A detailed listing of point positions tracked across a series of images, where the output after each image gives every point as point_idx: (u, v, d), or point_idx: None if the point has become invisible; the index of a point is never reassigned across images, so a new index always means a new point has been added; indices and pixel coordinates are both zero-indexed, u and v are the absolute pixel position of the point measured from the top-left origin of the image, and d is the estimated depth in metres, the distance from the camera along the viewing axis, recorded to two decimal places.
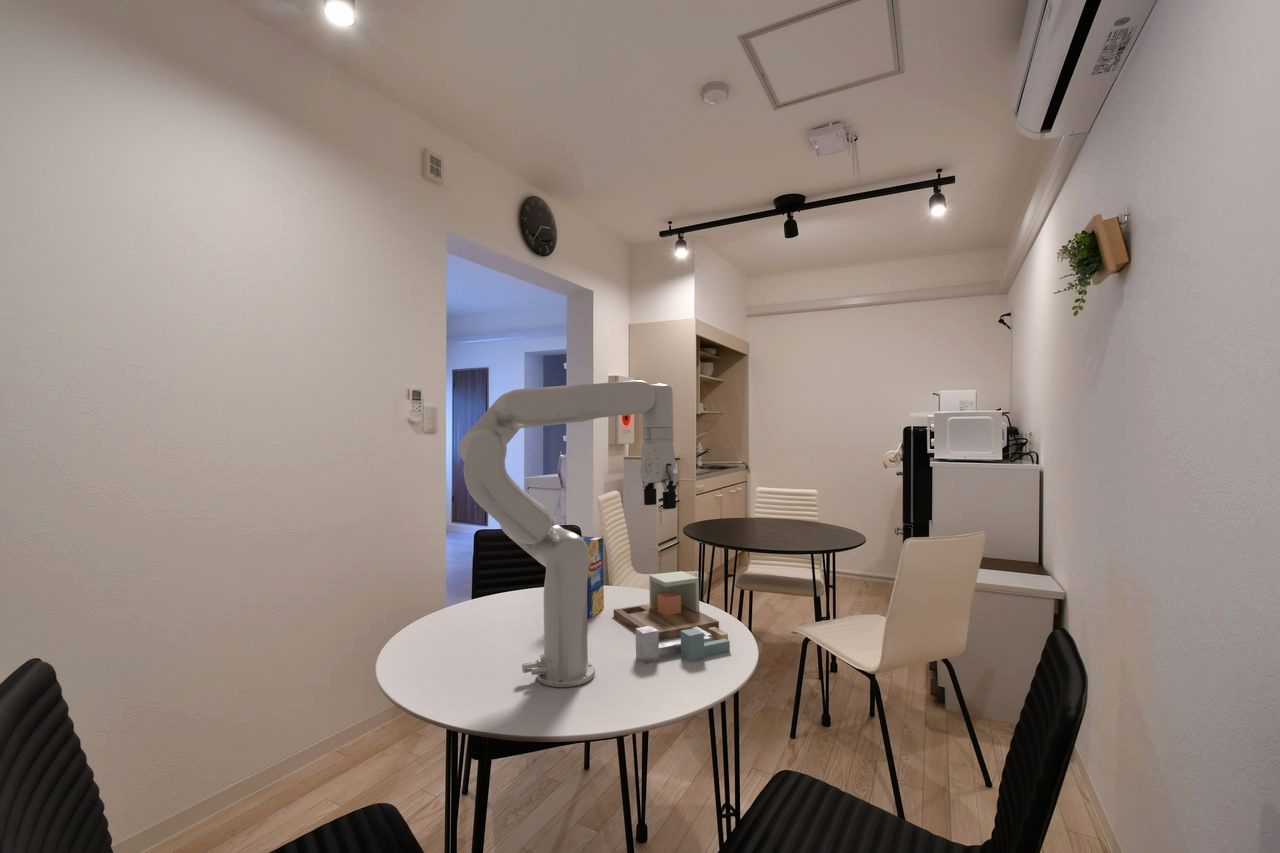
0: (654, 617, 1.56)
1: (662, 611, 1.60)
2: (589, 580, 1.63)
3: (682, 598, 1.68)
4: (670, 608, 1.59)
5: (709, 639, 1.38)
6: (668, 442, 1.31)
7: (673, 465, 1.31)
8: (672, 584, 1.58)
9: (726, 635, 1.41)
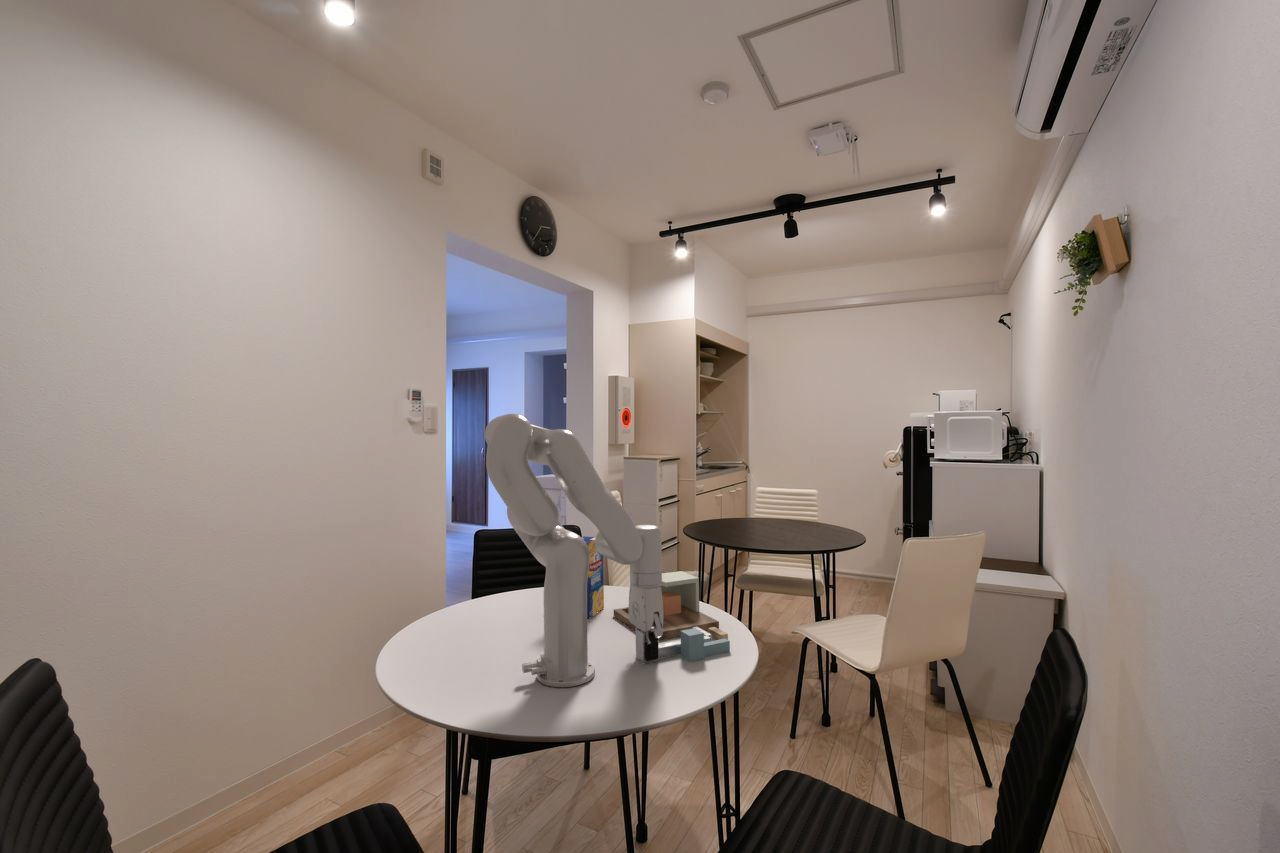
0: None
1: None
2: (589, 580, 1.63)
3: (682, 598, 1.68)
4: (670, 608, 1.59)
5: (709, 639, 1.38)
6: (656, 589, 1.28)
7: (661, 613, 1.28)
8: (672, 584, 1.58)
9: (726, 635, 1.41)
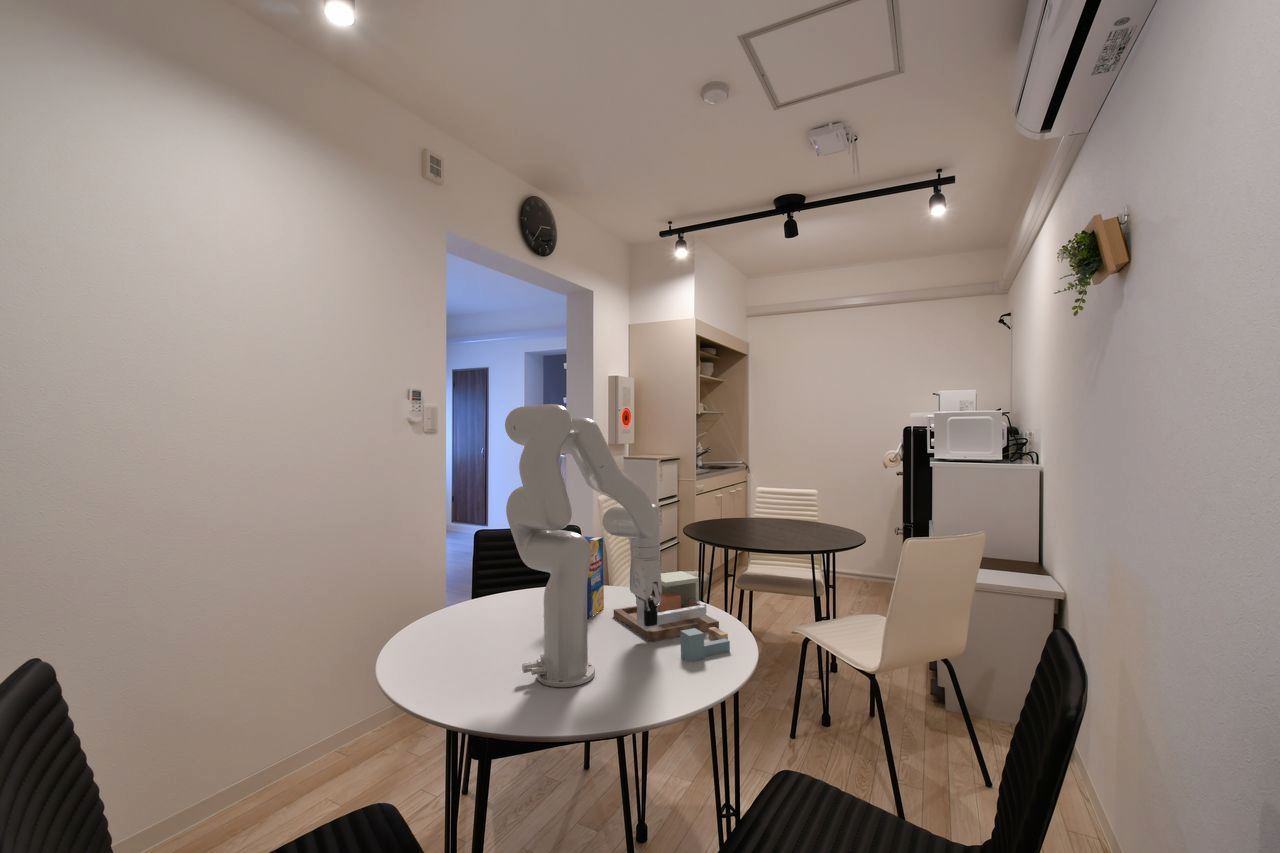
0: None
1: (662, 611, 1.60)
2: (589, 580, 1.63)
3: (682, 598, 1.68)
4: (670, 608, 1.59)
5: (704, 608, 1.51)
6: (655, 561, 1.41)
7: (659, 582, 1.41)
8: (672, 584, 1.58)
9: (726, 635, 1.41)
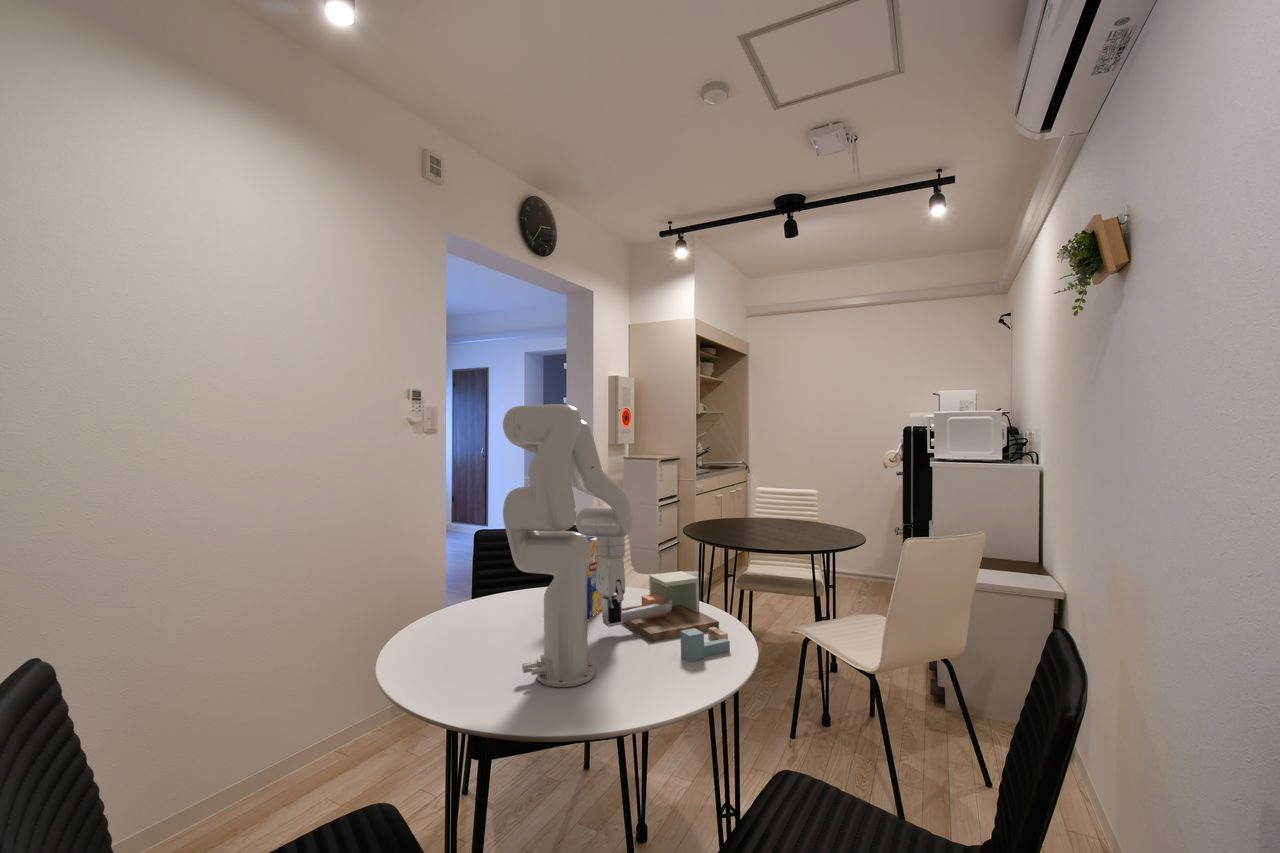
0: (654, 617, 1.56)
1: None
2: (589, 580, 1.63)
3: (682, 598, 1.68)
4: None
5: (669, 604, 1.55)
6: (618, 559, 1.45)
7: (622, 580, 1.45)
8: (672, 584, 1.58)
9: (726, 635, 1.41)
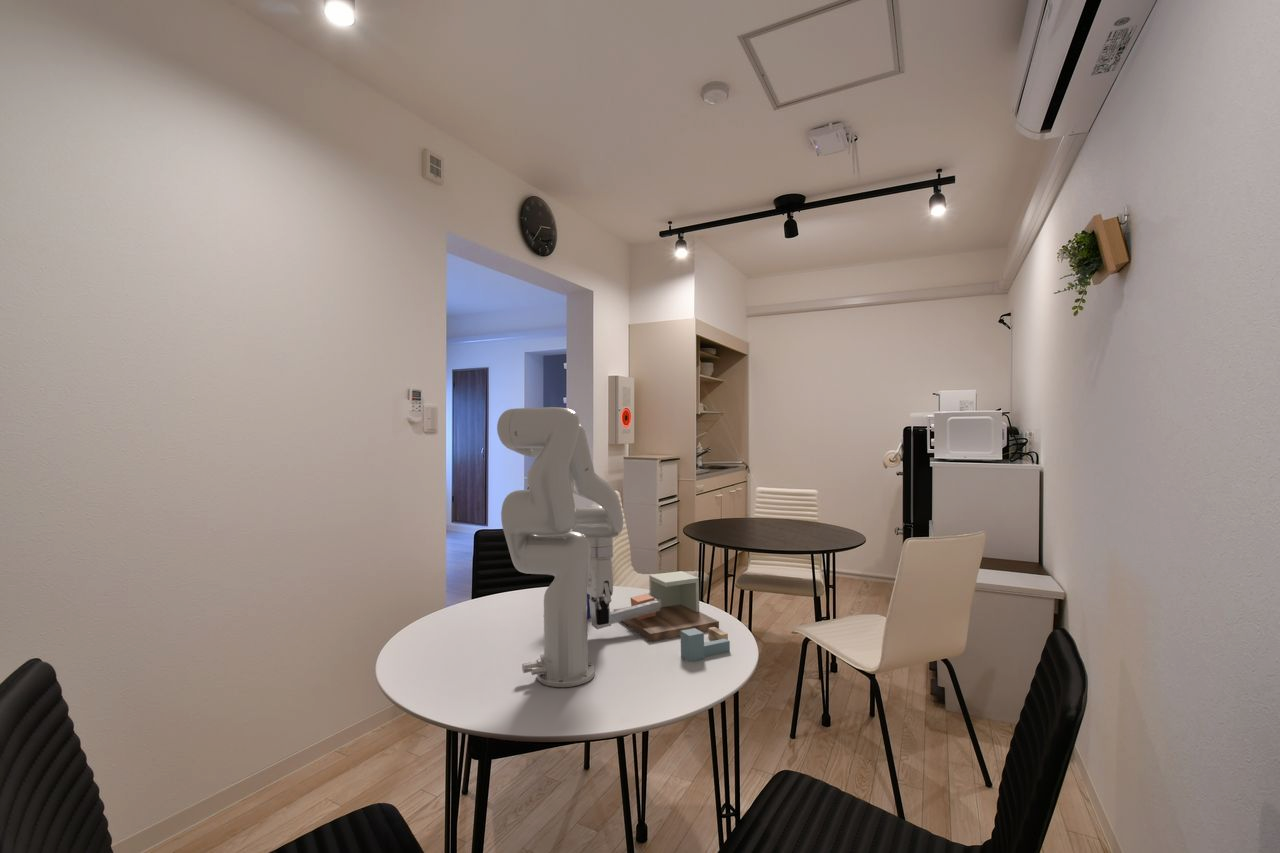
0: (654, 617, 1.56)
1: None
2: None
3: (682, 598, 1.68)
4: None
5: (658, 603, 1.54)
6: (606, 561, 1.44)
7: (610, 582, 1.44)
8: (672, 584, 1.58)
9: (726, 635, 1.41)
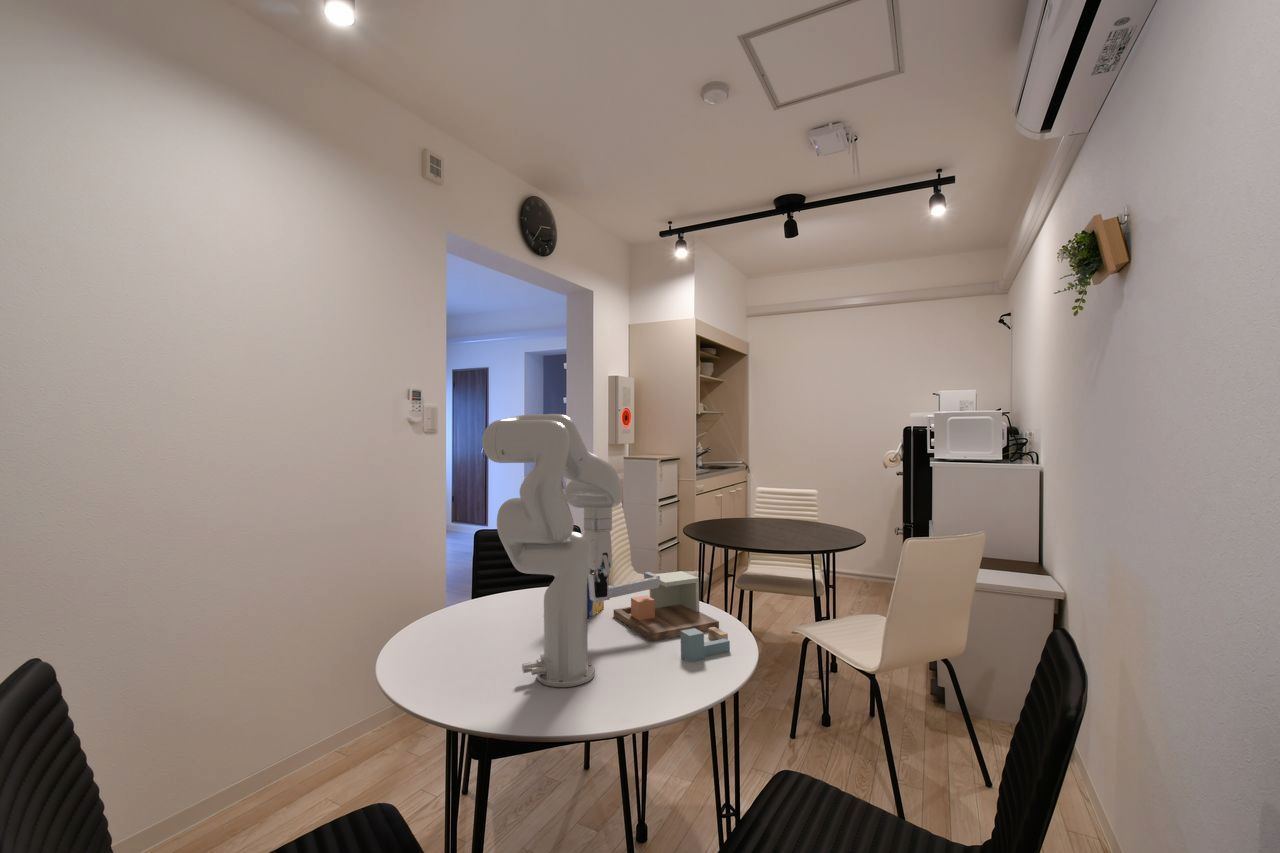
0: None
1: (635, 616, 1.56)
2: None
3: (682, 598, 1.68)
4: (643, 613, 1.55)
5: (656, 579, 1.53)
6: (605, 532, 1.44)
7: (609, 554, 1.43)
8: (672, 584, 1.58)
9: (726, 635, 1.41)
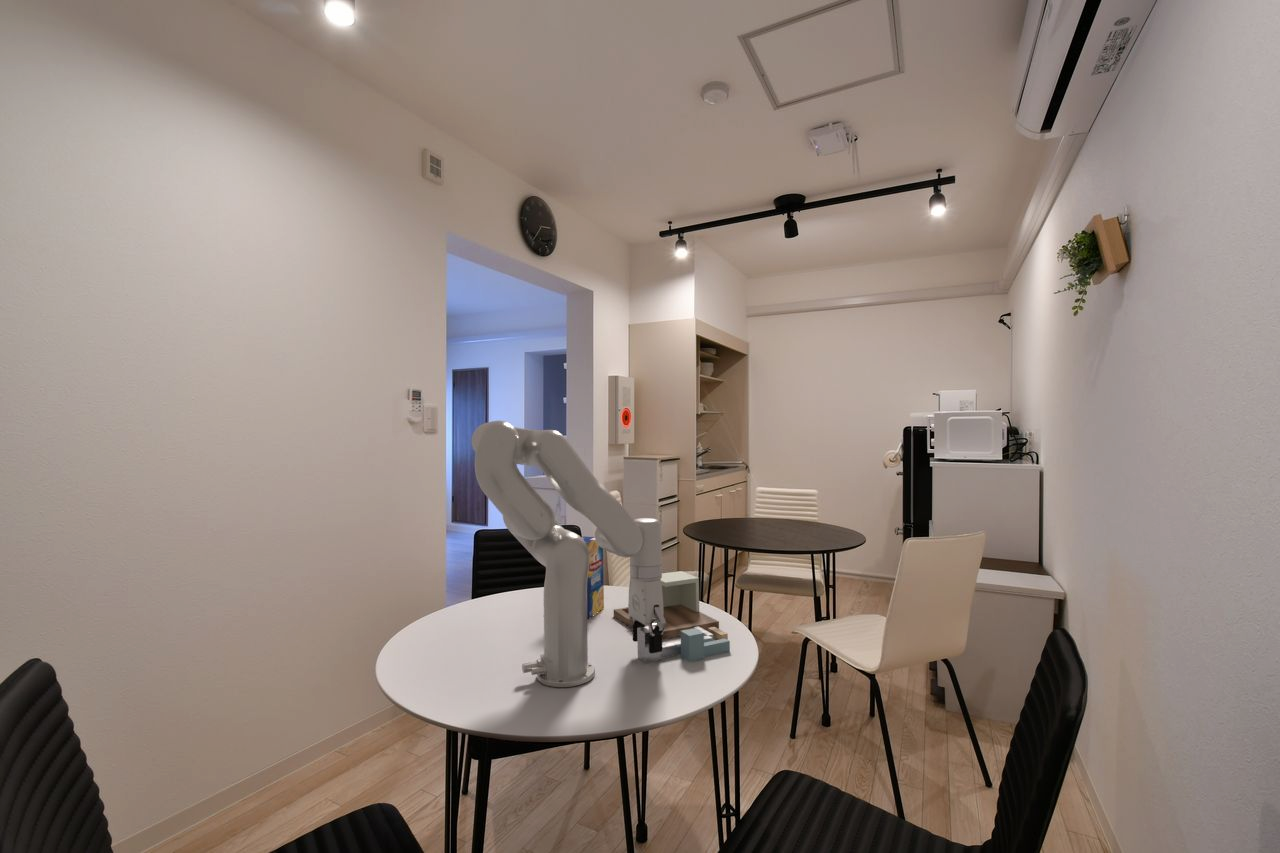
0: None
1: None
2: (589, 580, 1.63)
3: (682, 598, 1.68)
4: None
5: (711, 639, 1.38)
6: (656, 582, 1.28)
7: (661, 606, 1.28)
8: (672, 584, 1.58)
9: (726, 635, 1.42)
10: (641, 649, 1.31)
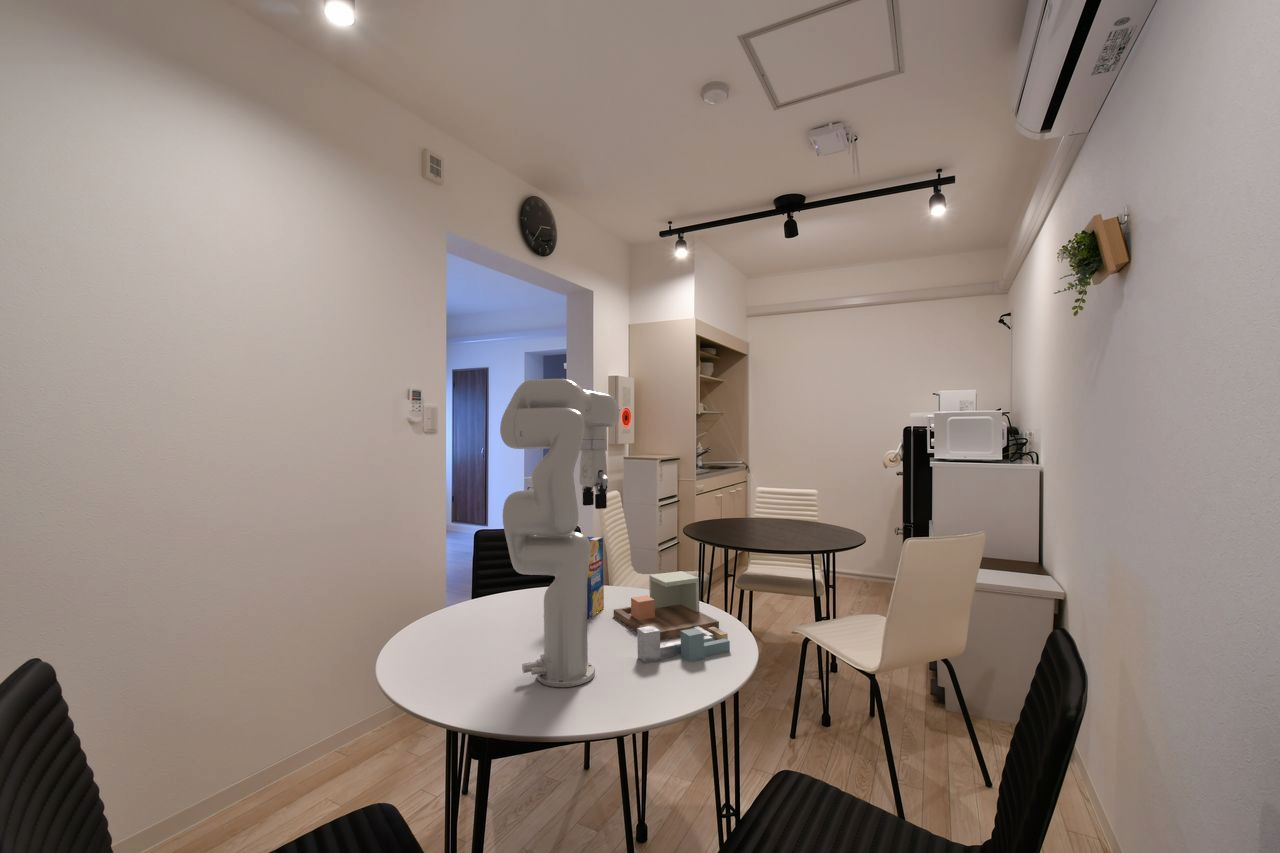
0: None
1: (635, 616, 1.56)
2: (589, 580, 1.63)
3: (682, 598, 1.68)
4: (643, 613, 1.55)
5: (711, 639, 1.38)
6: (600, 452, 1.53)
7: (604, 471, 1.53)
8: (672, 584, 1.58)
9: (726, 635, 1.42)
10: (641, 649, 1.31)
